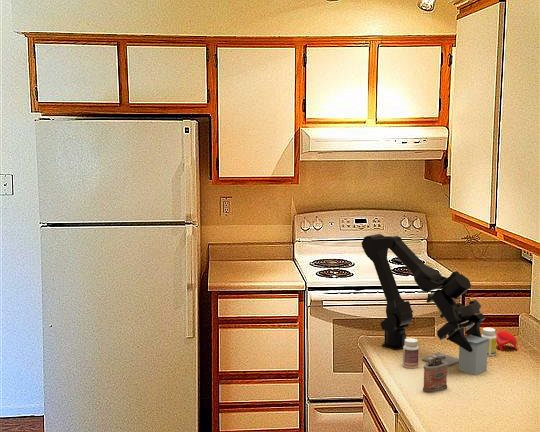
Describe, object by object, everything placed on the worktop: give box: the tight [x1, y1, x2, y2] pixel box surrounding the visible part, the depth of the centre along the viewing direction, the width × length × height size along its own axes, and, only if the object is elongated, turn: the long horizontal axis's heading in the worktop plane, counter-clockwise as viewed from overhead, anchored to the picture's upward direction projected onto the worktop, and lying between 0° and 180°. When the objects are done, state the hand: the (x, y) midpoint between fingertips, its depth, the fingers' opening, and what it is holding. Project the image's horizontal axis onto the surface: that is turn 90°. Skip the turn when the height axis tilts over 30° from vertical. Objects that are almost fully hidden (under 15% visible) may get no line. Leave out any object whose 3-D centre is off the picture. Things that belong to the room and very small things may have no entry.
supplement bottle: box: [481, 327, 497, 357], centre depth 230 cm, size 5×5×8 cm
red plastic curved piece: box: [495, 330, 518, 351], centre depth 235 cm, size 8×6×6 cm
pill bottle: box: [402, 337, 420, 369], centre depth 219 cm, size 5×5×8 cm
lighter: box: [422, 353, 448, 394], centre depth 201 cm, size 8×3×10 cm, turn 117°
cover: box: [457, 335, 488, 376], centre depth 215 cm, size 6×6×10 cm
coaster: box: [421, 352, 459, 368], centre depth 224 cm, size 9×9×1 cm
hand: (477, 349), depth 214 cm, fingers closed on cover, 6 cm apart
